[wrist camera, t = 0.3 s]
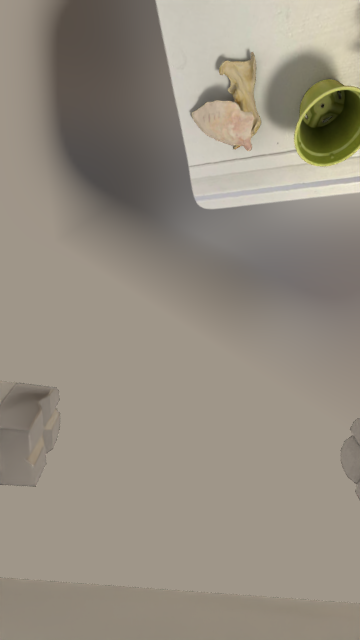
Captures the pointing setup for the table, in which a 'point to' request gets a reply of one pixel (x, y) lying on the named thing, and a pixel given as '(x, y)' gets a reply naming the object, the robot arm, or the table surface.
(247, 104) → the bone
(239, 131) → the artifact
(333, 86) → the plant pot
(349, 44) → the table surface
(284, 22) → the table surface
